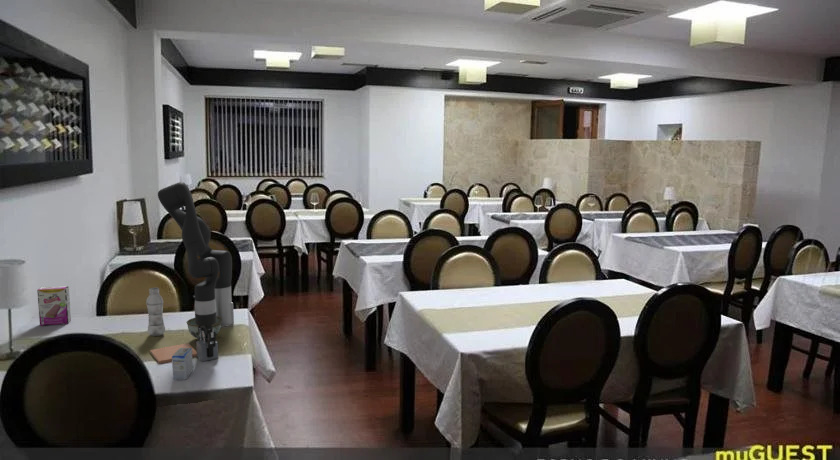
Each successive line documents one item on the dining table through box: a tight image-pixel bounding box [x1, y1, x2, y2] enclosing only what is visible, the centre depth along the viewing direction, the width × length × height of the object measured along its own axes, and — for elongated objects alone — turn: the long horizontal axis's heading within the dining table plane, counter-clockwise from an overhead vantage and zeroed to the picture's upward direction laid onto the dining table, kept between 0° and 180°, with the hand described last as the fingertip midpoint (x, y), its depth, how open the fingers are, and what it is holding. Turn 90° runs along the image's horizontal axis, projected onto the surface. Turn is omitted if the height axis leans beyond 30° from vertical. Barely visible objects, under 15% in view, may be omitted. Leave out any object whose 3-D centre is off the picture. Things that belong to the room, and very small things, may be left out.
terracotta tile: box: [149, 342, 197, 364], centre depth 221 cm, size 14×14×1 cm
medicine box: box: [171, 348, 194, 381], centre depth 200 cm, size 8×4×9 cm, turn 5°
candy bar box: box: [36, 285, 72, 327], centre depth 255 cm, size 11×5×16 cm, turn 108°
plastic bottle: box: [145, 287, 166, 337], centre depth 241 cm, size 6×7×20 cm
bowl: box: [186, 316, 222, 341], centre depth 238 cm, size 14×13×8 cm
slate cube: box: [195, 340, 219, 362], centre depth 217 cm, size 6×6×6 cm
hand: (207, 354), depth 218 cm, fingers closed on slate cube, 6 cm apart
